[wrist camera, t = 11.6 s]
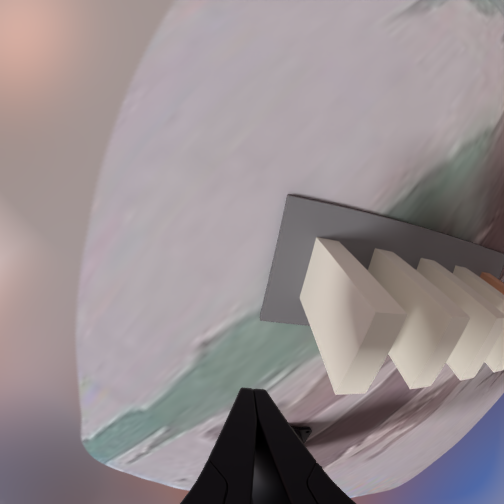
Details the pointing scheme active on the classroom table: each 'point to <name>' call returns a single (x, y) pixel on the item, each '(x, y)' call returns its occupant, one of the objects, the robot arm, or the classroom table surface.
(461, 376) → the domino
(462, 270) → the domino
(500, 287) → the terracotta domino
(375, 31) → the classroom table surface
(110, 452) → the classroom table surface
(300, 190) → the classroom table surface
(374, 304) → the domino
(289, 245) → the mat
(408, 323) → the domino
